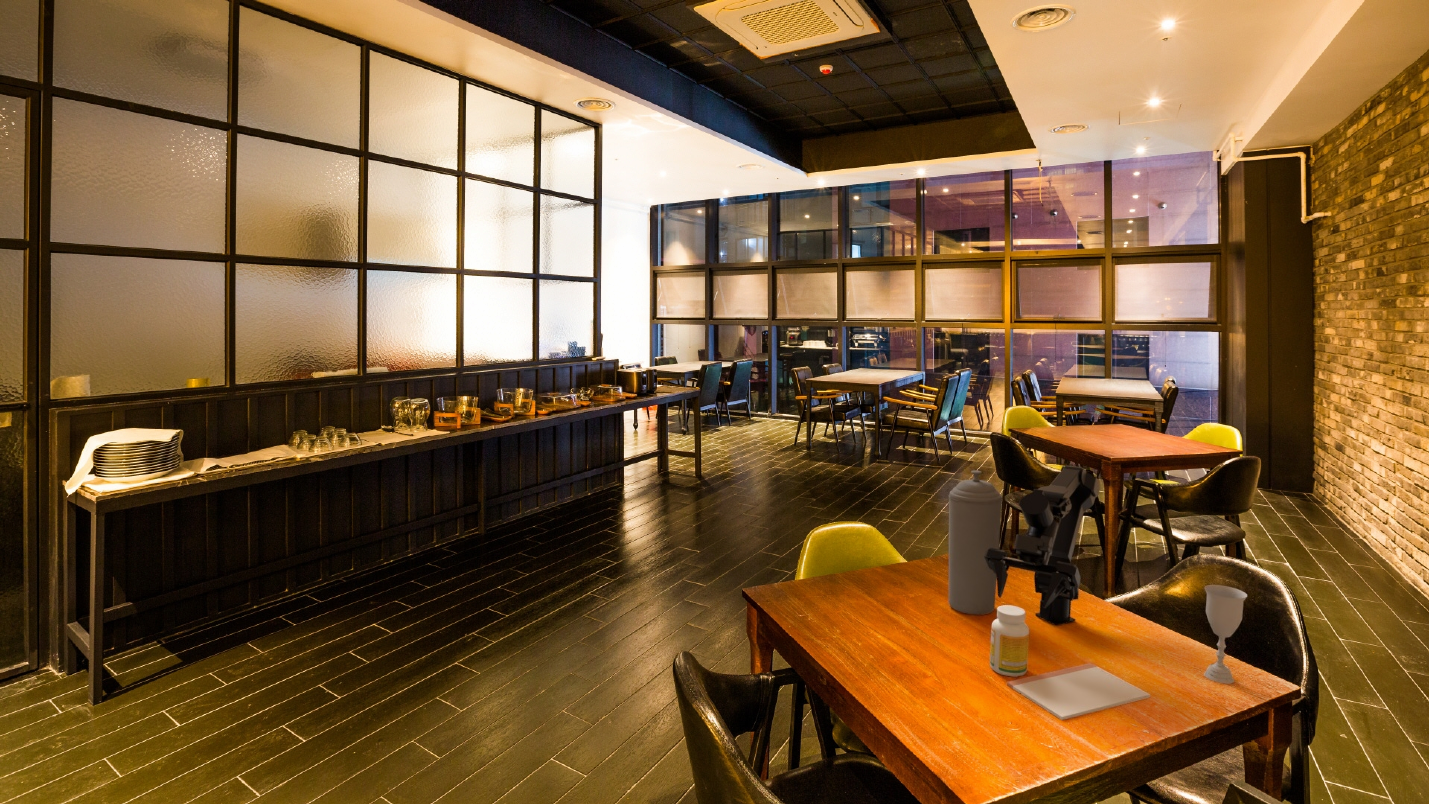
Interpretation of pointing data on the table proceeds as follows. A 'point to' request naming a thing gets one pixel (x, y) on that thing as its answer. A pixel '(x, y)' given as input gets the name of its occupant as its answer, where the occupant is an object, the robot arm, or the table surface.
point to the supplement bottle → (1009, 642)
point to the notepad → (1077, 690)
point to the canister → (973, 544)
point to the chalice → (1223, 624)
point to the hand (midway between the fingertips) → (1021, 601)
